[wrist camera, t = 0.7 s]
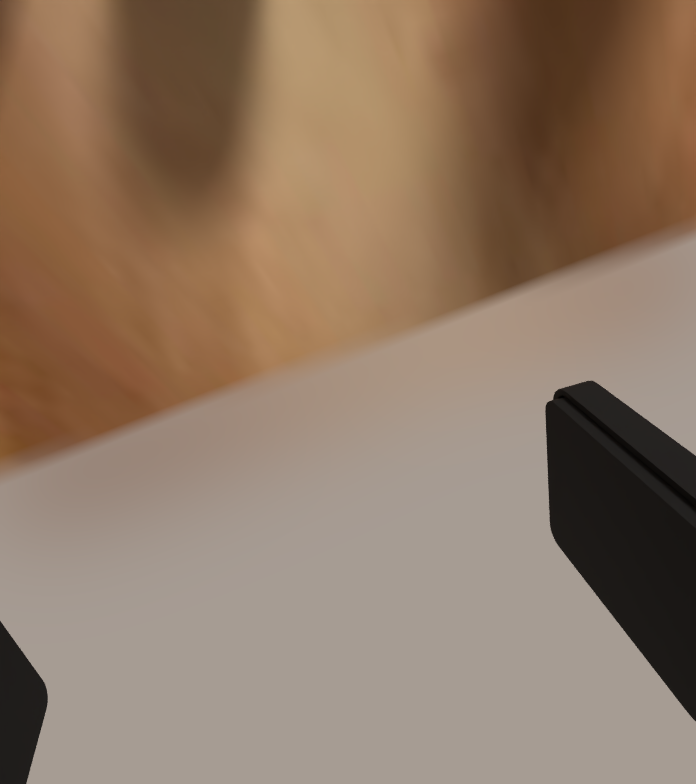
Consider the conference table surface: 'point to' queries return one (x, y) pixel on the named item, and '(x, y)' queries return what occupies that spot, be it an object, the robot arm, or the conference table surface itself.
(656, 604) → the robot arm
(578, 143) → the conference table surface
